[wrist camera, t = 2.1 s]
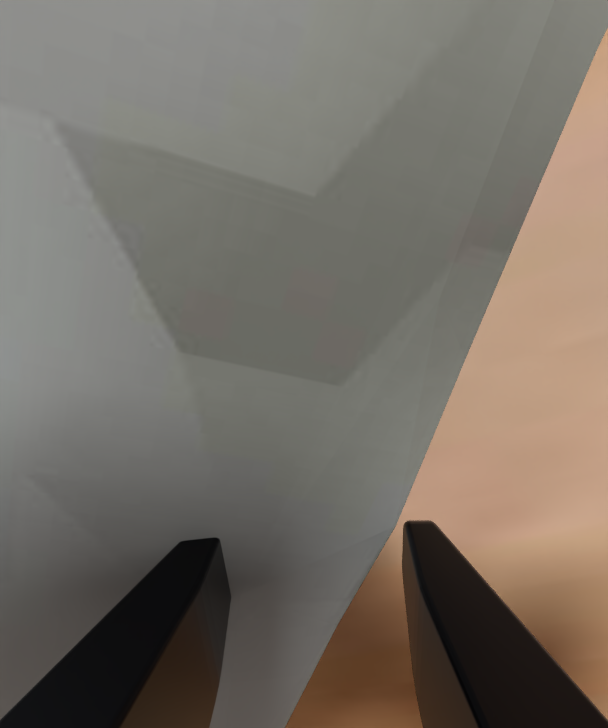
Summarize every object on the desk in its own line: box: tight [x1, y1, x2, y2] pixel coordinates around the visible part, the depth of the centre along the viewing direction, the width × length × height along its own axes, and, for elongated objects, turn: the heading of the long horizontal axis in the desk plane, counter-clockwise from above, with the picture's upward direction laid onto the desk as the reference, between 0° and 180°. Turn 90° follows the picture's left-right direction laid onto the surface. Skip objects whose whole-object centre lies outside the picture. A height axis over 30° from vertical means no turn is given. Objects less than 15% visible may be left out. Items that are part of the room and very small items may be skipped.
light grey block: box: [0, 0, 608, 728], centre depth 8 cm, size 18×5×10 cm
